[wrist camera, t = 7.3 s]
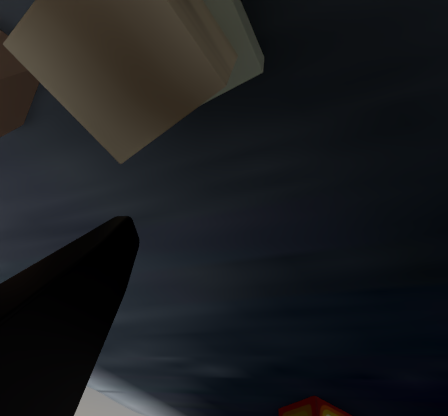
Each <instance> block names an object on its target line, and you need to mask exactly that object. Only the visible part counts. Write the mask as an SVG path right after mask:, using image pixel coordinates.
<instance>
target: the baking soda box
mask: <svg viewBox="0 0 448 416" xmlns="http://www.w3.org/2000/svg"><path fill="white" fill-rule="evenodd" d="M279 416H352V415H350V414H348V413H346V412H345V411H343V410H341V409H339V408H337V407H335V406H333V405H331V404H330V403H328V402H326V401H324V400H322V399H320V398H318V397H316V396H312V397H309V398H307V399H304V400H301V401H298V402H296V403H293V404H290V405H288V406H285V407H282V408H280V409H279Z"/></svg>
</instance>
